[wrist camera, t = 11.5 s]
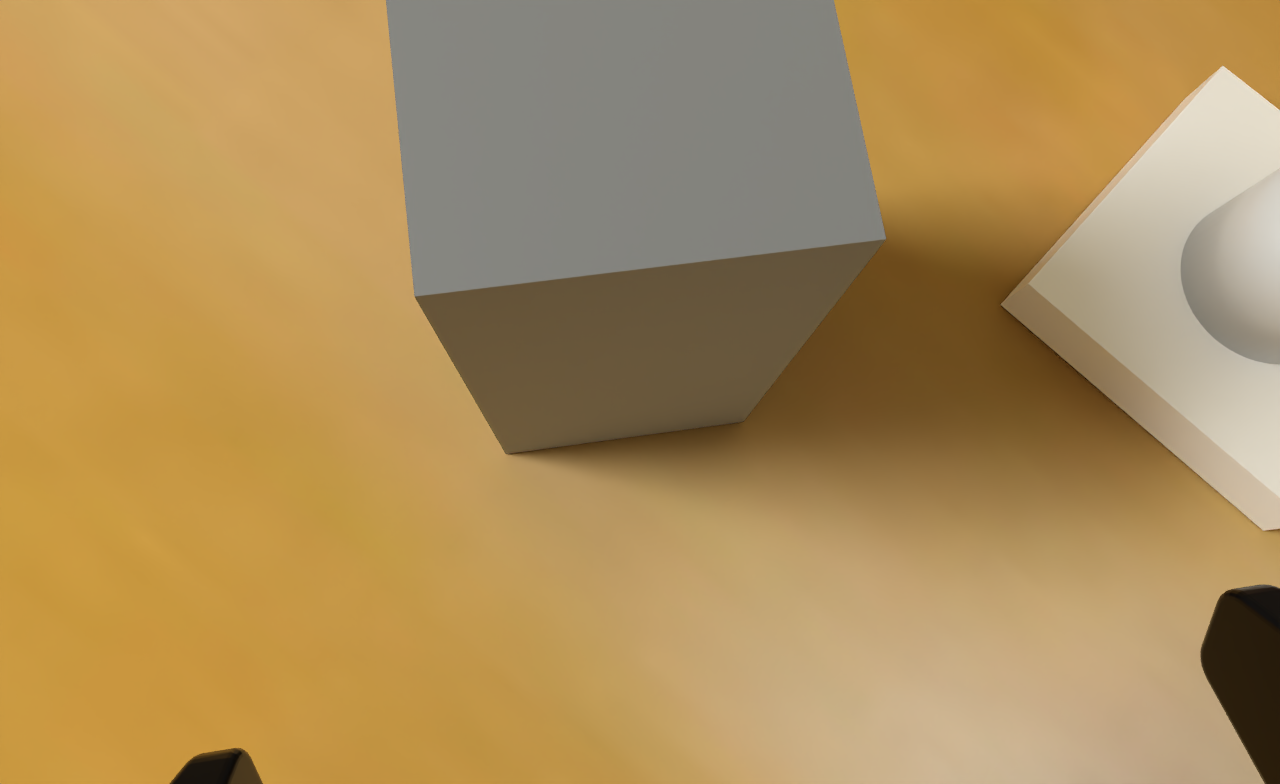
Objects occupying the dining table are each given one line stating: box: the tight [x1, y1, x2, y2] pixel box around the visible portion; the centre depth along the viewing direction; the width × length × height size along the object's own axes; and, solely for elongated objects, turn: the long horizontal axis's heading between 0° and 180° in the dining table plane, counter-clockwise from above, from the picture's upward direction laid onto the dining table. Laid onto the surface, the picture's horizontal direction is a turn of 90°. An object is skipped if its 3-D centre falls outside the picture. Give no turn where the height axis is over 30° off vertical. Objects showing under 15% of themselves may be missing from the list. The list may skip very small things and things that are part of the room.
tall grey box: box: [386, 0, 886, 454], centre depth 17 cm, size 6×6×11 cm
